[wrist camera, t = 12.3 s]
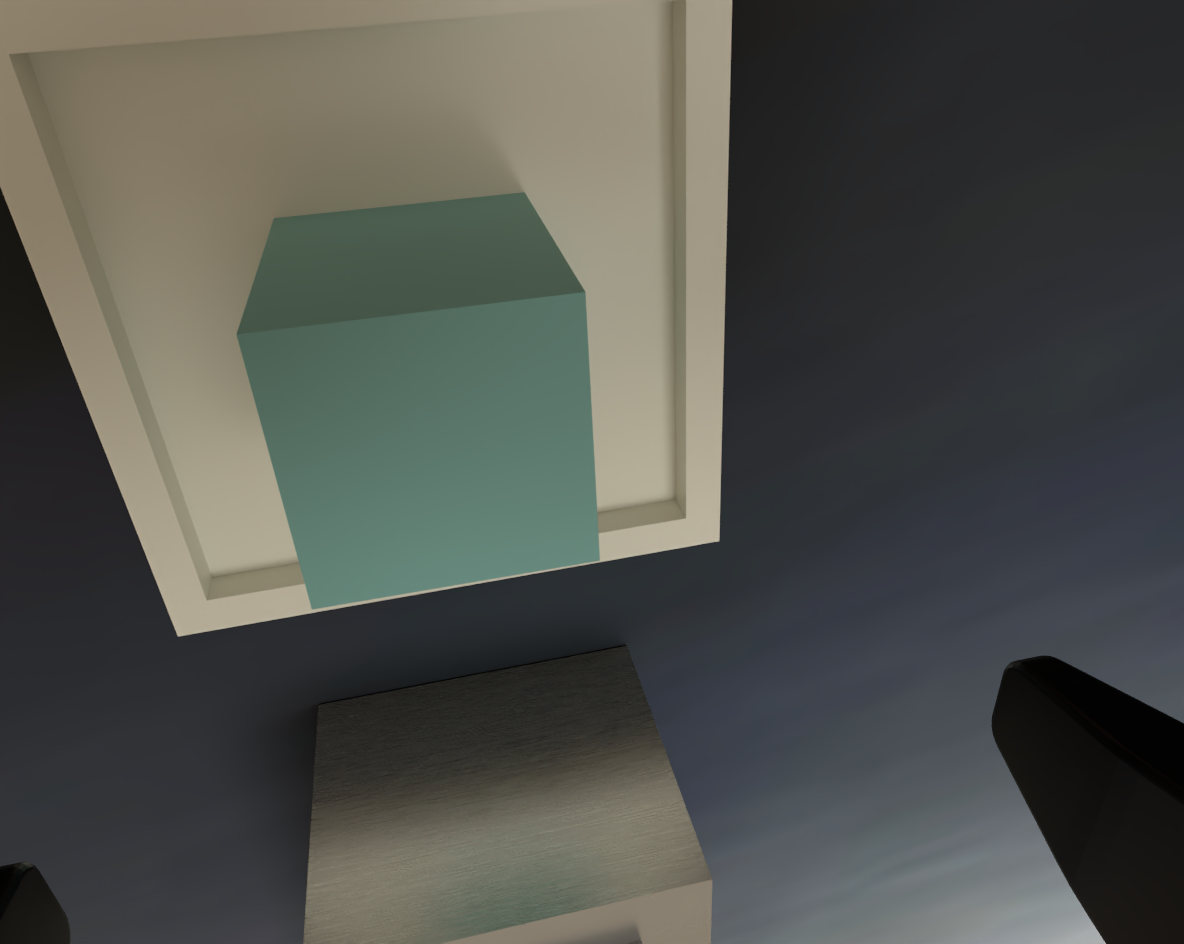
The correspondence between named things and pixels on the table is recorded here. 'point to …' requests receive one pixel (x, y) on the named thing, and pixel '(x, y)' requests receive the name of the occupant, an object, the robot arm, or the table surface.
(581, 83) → the tray
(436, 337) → the teal block
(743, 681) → the table surface
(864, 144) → the table surface
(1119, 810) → the robot arm
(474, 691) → the box
